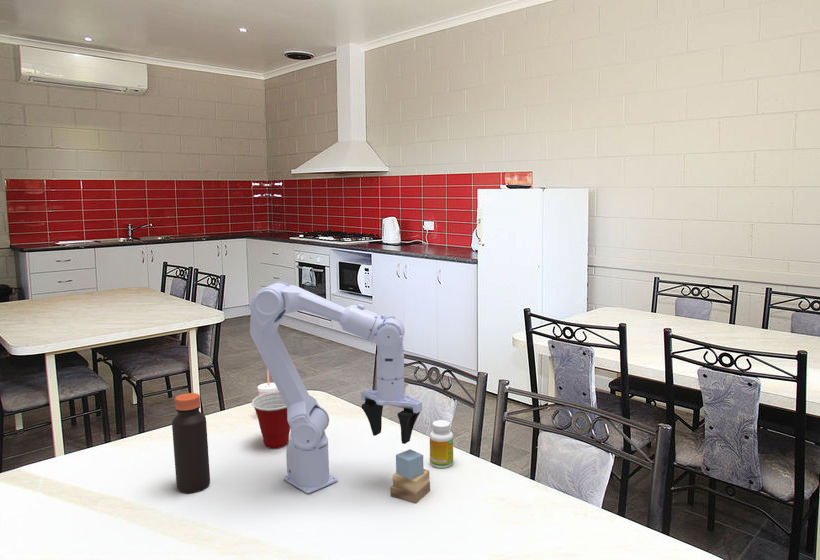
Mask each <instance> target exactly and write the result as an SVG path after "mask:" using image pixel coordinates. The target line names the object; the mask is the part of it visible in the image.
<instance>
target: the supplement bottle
mask: <svg viewBox="0 0 820 560" xmlns="http://www.w3.org/2000/svg"><path fill="white" fill-rule="evenodd" d="M431 427H432V431H430V433H429V464H430V465H431V466H432V467H434V468H437V469H446V468H450V467H452V466H453V464H454V433H453V432H452V431H451V430H450V429H451V423H450V422H449V421H448V420H444V419H439V420H434V421H433V422H432V425H431Z"/></svg>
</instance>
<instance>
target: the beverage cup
mask: <svg viewBox="0 0 820 560" xmlns="http://www.w3.org/2000/svg"><path fill="white" fill-rule="evenodd" d="M266 377H267V382H265V383H261V384H259V385H257V387H256V388H257V391H258V396H259V395H262V394H265V393H269V392H277V391H278V389H277V387H276V385H275V383H274V382H270V373H269V371H268V369H267V368H266Z"/></svg>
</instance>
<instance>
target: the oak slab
mask: <svg viewBox="0 0 820 560" xmlns="http://www.w3.org/2000/svg"><path fill="white" fill-rule="evenodd" d="M423 469H424V468H423ZM430 479H431V478H430V470H429V469H424V474H421V475H419V476H417V477H415V478H412V479H410V480H409V479H406V478H404V477H402V476H400V475H398V474H396V472H395V473H394V474H392V486H393V487H396V488H400V489H403V490H407V491H410V492H414V493H417V492H418V491H419V490H420V489H422V488H423V487H424V486H425V485H426V484H427V483H429V482H430V483H431V481H430Z"/></svg>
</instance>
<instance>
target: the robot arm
mask: <svg viewBox="0 0 820 560" xmlns="http://www.w3.org/2000/svg"><path fill="white" fill-rule="evenodd" d="M365 307H366V306H365V304H362V303H359V304H358V305H355V304H351V305H348V306H347V307H346V306H342V305H340V304H337V303H335V302H333V301H331V300H329V299H327V298H324V297H322V296H320V295H317V294H315V293H313V292H310V291H308V290H306V289H304V288H302V287H299V286H297V285H294V284H289V283H287V282H285V281H275V282H273V283H271V284H269V285H268V286H266V287H263V288H260V289H258V290H257V291H256V292H255V293H254V295H253V297H252V299H251V301H250V302H249V306H248V308H249V311H250V320H249V321H250V322H249V334H250V337H251V338H252V340H253V343H254V345H255V346H256V349H257V352H258V353H259V355H260V357H261V359H262V361H263V362H264V365H265V367H266V370H267V369H268V371H269V376H270V377H271V379H272V380H273V383H275V385H276V387H277V389H278V391H279V393H280V395H281V397H282V399H283V401H284V403H285V405H286V407H287V420H288V423H289V426H290V438H291V440H290V441H288V444H287V445H286V446H287V447H286V451H285V454H286V456H285V458H286V476H284V477H283V480H284V481H286V482H288V483H289V484H291V485H293V486H294V487H296V488H297V489H299V490H300V491H302V492H304V493H306V494H310V493H313V492H316V491H319V490H321V489H323V488H325V487H328V486H330V485H333V484H334V483H336V482H338V478H336V477H335V476H333V475H331V474H330V460H329V459H330V458H329V438H328V436H327V434H326V432H325V431H326V430H327V428H328V426H329V423H330V416H329V414H328V412H327V411H326V410H325V408H323V407H321V406H320V404H319V403H318V401H317V399H316V398H315V397H313V396H312V395H310V394H309V392H308V390H307V387H306V386H305V384H304V382H303V379H302V377H301V376H300V373H299V372H298V370H297V368H296V366H295V363H294V362H293V360H292V358H291V356H290V354H289V352H288V349H287V348H286V346H285V343H284V341H283V339H282V338H281V336H280V333H279V331H278V328H279V326H280V324H281V321H282V319H283V316H284V315H285V314H290V313H295V312H298V311H304V312H308V313H311V314H315V315H317V316H319V317H323V318H326V319H329V320H331V321H334V322H337V323H339V325H340V327H341V329H342V330H343V331H344V332H347V333H349V334H352V335H355V336H356V337H360V338H362V339H365V340H367V341H370V342H374V344H375V345H376V349H377V354H376V389H369V388H366V389H363V390H361V391H360V400H361V401H364V403H362V404H361V409H362V411H363V412H364V413H365V416H366V418H367V421H368V422H369V426H370V429H371V434H372V436H374V437H376V436H378V435H379V434H381V433H382V427H383V426H382V424H383V422H382V416H383V408H384V406H391V407H395V408H399V409H403V410H401V411H399V412H398V413H397V419H398V420H399V426H400V440H401V444H402V445H403V444H404V445H406V444H407V443H409V442H410V441H411V437H412V432H413V429H414V426H415V424H416V421H417V420H418V417H419V415H420V414H421V412H422V411H423V401H420V400H418V399H415V398H413V397H411V396H409V395H406V394H405V354H404V342H403V341H404V336H405V327H404V324H403V322H402V321H401V320H399V318H397V317H395V316H393V315H392V316H387V314H384V313H381V314H378V313H377V312H373V311H370V310H368V309H366V308H365Z"/></svg>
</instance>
